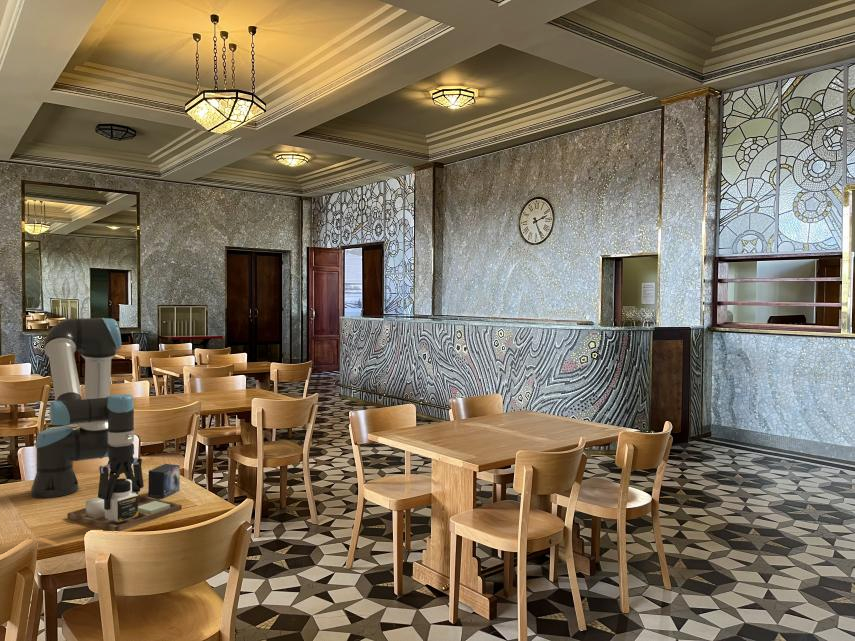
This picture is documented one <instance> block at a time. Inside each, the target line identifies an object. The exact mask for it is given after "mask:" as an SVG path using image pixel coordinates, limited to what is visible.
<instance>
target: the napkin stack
mask: <svg viewBox="0 0 855 641" xmlns="http://www.w3.org/2000/svg"><path fill="white" fill-rule="evenodd" d="M168 508H170V504H166V503H162V502H158V501H153V502H150V503H147V504H144V505H141V506H138V512H142V513H146V514H150V515H151V514H153V513H156V512H159V511H162V510H165V509H168Z"/></svg>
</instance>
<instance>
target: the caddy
mask: <svg viewBox="0 0 855 641" xmlns="http://www.w3.org/2000/svg"><path fill="white" fill-rule="evenodd" d="M153 501H158V502H162V503H166V504H170V508H168V509H165V510H162V511H159V512H156V513H153V514H151V515H150V514H146V513H142V512H138V516H137V517H134V518H131V519H127V520H124V521H121V522H115V521H112V520H109V519H106V518H105V515H104V516H101V517H98V518H95V519H91V518H88V517H86V507H85V508H81V509H78V510H74V511H70V512H68V513H67V519H69V520H73V521H74V522H75V521H76V522H79V523H82V524H86V525H89V526H93V527H95V528H101V529H104V530H108V531H110V530H114V531H119V532H122V531H124V530H127V529H131V528H134V527H136V526H140V525H141V524H146V523H148V522H150V521H154V520H156V519H159V518H162V517H164V516H167V515H168V516H169V515H171V514H174V513H176V512H179V511H182V509H183V508H182V506H183V505H182V504H179V503H175V502H171V501H167V500H164V499H162V500H161V499H159V498H150V497H148V496H147V495H141V494H138V506H141V505H144V504H147V503H150V502H153ZM114 531H113V532H114Z"/></svg>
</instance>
